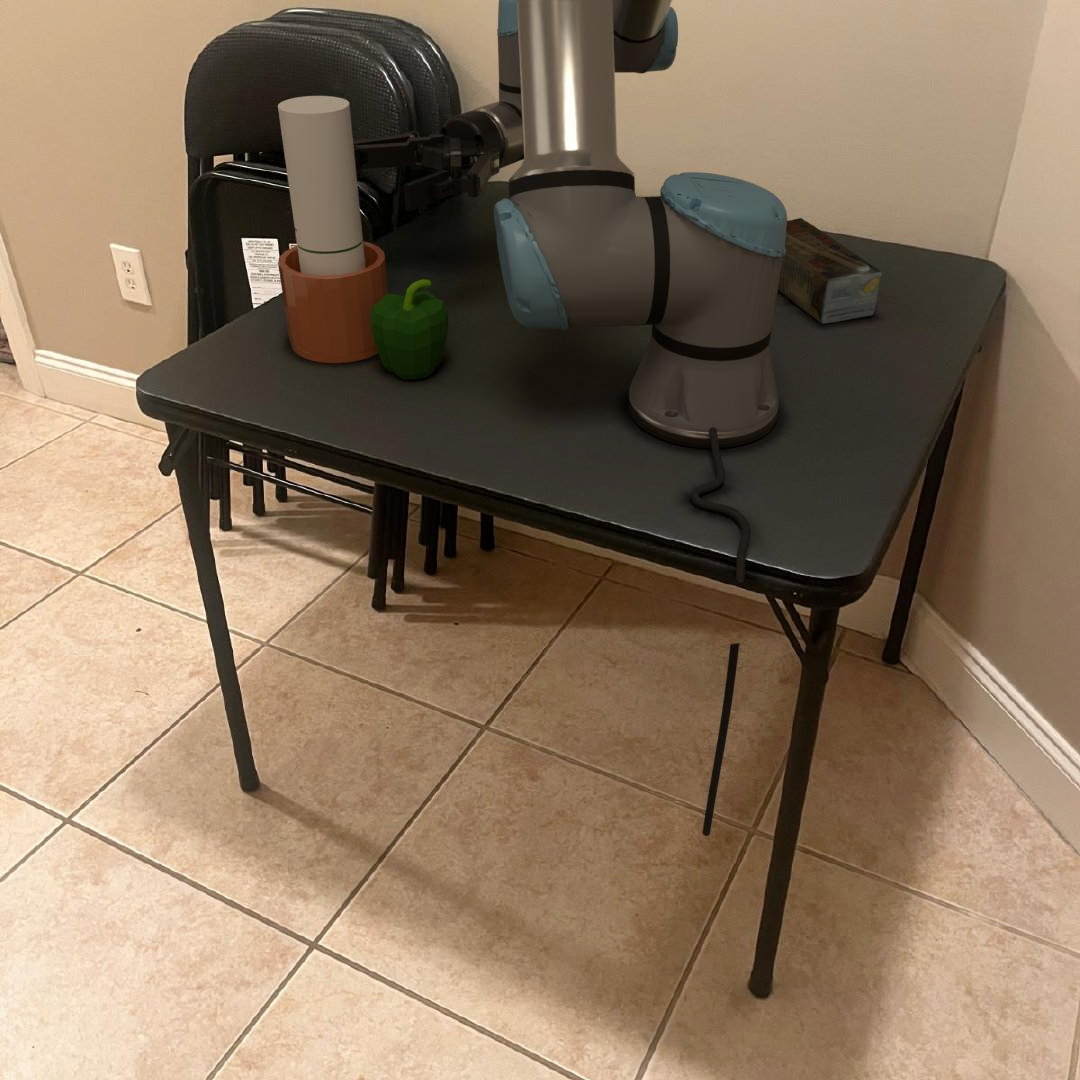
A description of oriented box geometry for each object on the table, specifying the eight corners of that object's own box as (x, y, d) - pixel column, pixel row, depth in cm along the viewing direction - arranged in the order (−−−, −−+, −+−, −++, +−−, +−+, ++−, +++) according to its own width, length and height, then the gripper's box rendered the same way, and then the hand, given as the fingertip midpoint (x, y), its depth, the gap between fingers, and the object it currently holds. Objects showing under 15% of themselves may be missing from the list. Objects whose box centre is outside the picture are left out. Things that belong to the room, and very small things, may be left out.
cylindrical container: (365, 316, 122) (342, 93, 107) (377, 341, 117) (355, 110, 102) (305, 323, 120) (273, 98, 105) (314, 349, 115) (282, 116, 100)
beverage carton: (818, 326, 123) (828, 274, 119) (743, 268, 138) (749, 220, 134) (875, 317, 125) (886, 265, 121) (795, 261, 140) (802, 213, 136)
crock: (393, 360, 115) (386, 275, 109) (288, 366, 114) (275, 280, 108) (390, 317, 124) (383, 236, 118) (292, 322, 123) (280, 241, 117)
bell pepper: (378, 390, 109) (369, 302, 103) (372, 356, 116) (364, 271, 110) (456, 383, 111) (451, 296, 105) (446, 350, 117) (442, 266, 111)
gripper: (563, 192, 123) (449, 243, 109) (407, 155, 135) (287, 197, 121) (564, 127, 118) (445, 172, 105) (403, 94, 130) (277, 131, 116)
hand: (360, 185), depth 113 cm, fingers open, 13 cm apart
